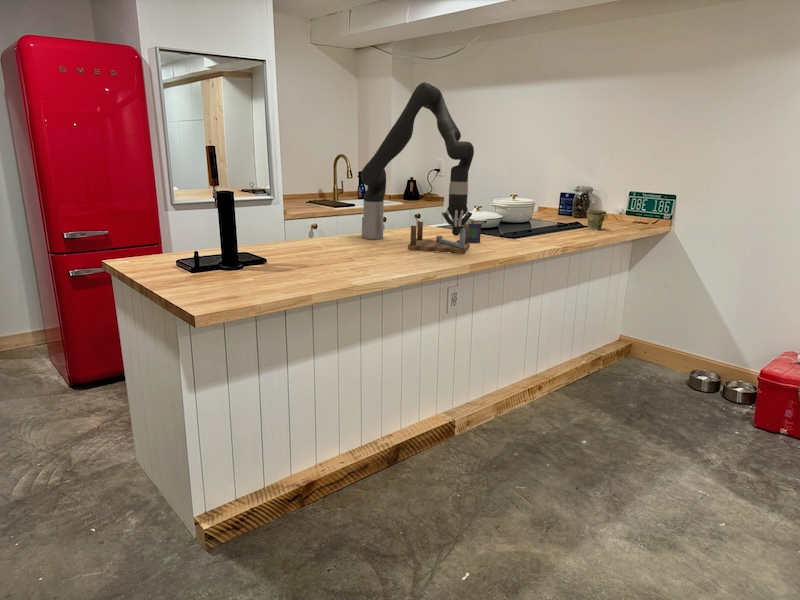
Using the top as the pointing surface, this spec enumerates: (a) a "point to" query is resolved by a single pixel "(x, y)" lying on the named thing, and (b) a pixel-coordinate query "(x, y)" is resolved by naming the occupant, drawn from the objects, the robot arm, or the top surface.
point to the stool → (434, 242)
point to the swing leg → (460, 244)
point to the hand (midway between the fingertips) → (455, 235)
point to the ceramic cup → (595, 219)
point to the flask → (474, 232)
